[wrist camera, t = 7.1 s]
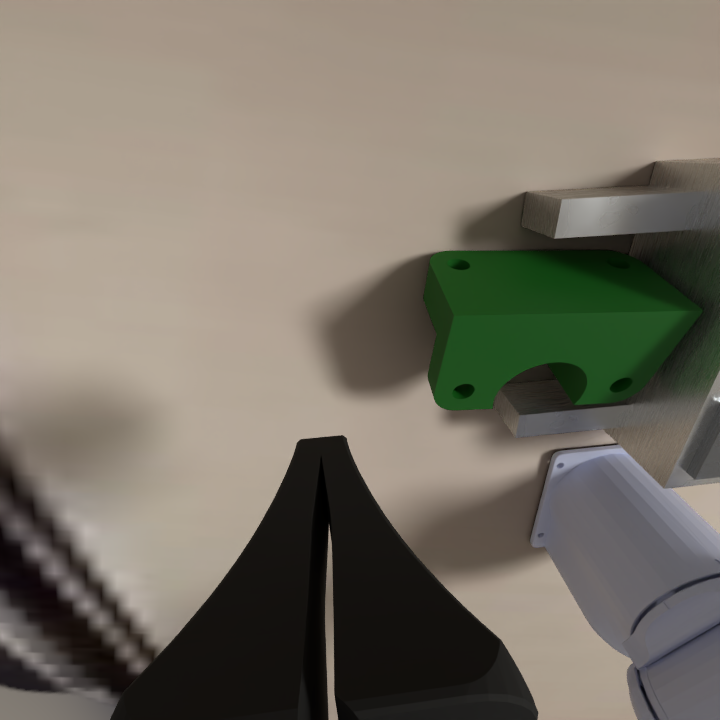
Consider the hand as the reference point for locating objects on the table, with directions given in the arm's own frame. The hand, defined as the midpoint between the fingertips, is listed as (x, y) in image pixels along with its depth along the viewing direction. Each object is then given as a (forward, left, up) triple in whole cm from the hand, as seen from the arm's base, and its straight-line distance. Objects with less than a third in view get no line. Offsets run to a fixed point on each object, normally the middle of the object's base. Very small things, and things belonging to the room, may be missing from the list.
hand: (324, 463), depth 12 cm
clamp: (0, -10, -10) cm, 14 cm away
